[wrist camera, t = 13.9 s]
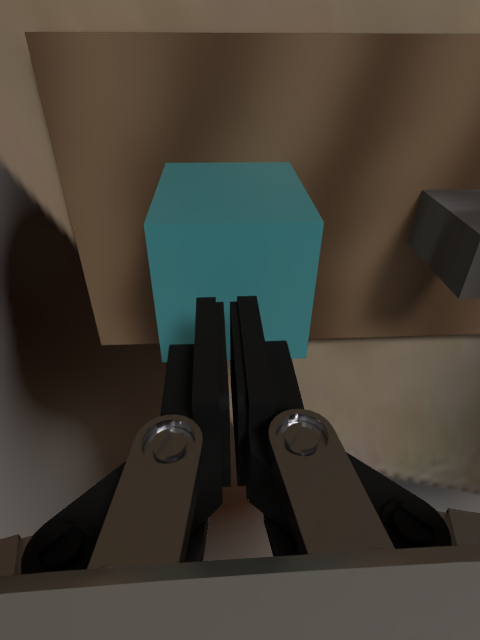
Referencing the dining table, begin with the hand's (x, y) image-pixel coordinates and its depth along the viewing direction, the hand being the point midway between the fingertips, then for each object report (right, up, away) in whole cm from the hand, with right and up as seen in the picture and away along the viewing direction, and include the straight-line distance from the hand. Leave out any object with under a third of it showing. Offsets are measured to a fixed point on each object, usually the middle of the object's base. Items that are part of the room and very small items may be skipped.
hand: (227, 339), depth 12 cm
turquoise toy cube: (0, +5, +7) cm, 9 cm away
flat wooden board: (+5, +6, +8) cm, 11 cm away
